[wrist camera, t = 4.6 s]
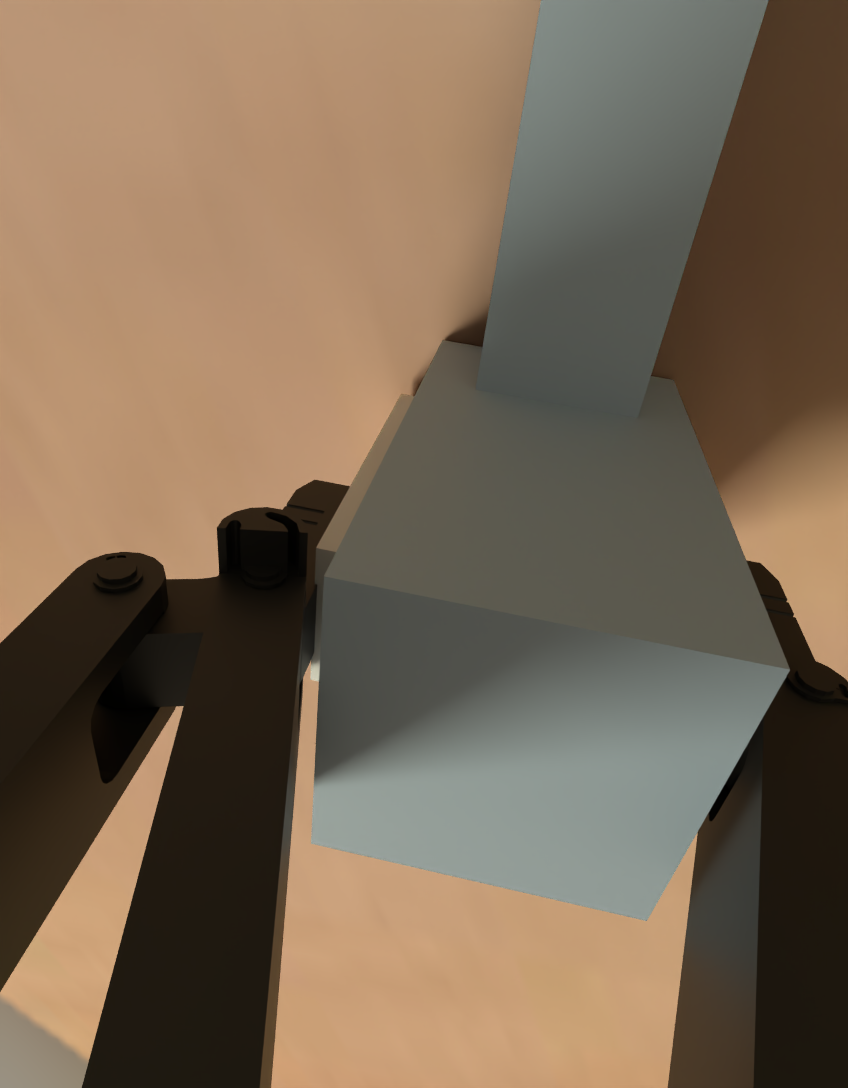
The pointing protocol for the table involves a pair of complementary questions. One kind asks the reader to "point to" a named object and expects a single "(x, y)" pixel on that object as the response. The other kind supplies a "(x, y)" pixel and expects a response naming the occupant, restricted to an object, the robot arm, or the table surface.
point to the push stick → (558, 514)
